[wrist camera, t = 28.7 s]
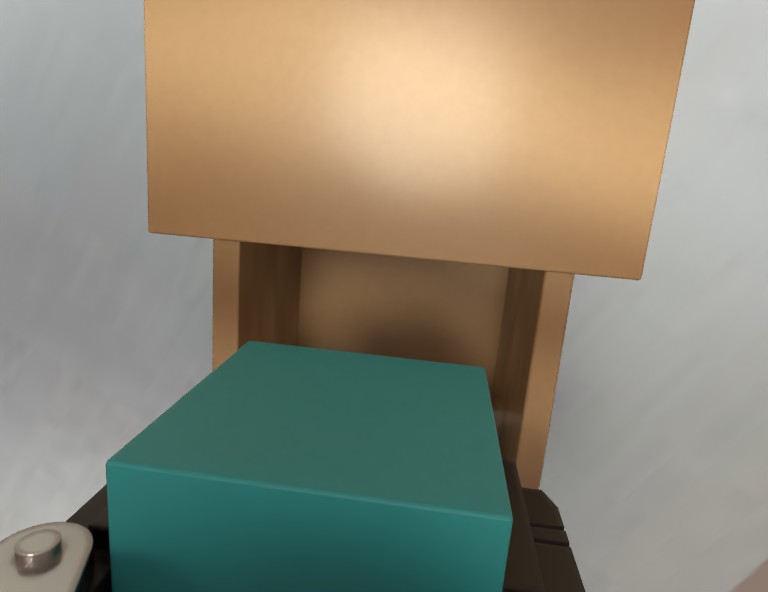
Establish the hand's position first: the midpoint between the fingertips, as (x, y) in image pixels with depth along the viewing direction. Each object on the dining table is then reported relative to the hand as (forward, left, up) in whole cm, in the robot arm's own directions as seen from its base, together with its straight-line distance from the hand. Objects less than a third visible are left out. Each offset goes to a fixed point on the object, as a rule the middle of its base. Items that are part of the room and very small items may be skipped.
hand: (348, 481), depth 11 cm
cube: (0, 0, -1) cm, 1 cm away
